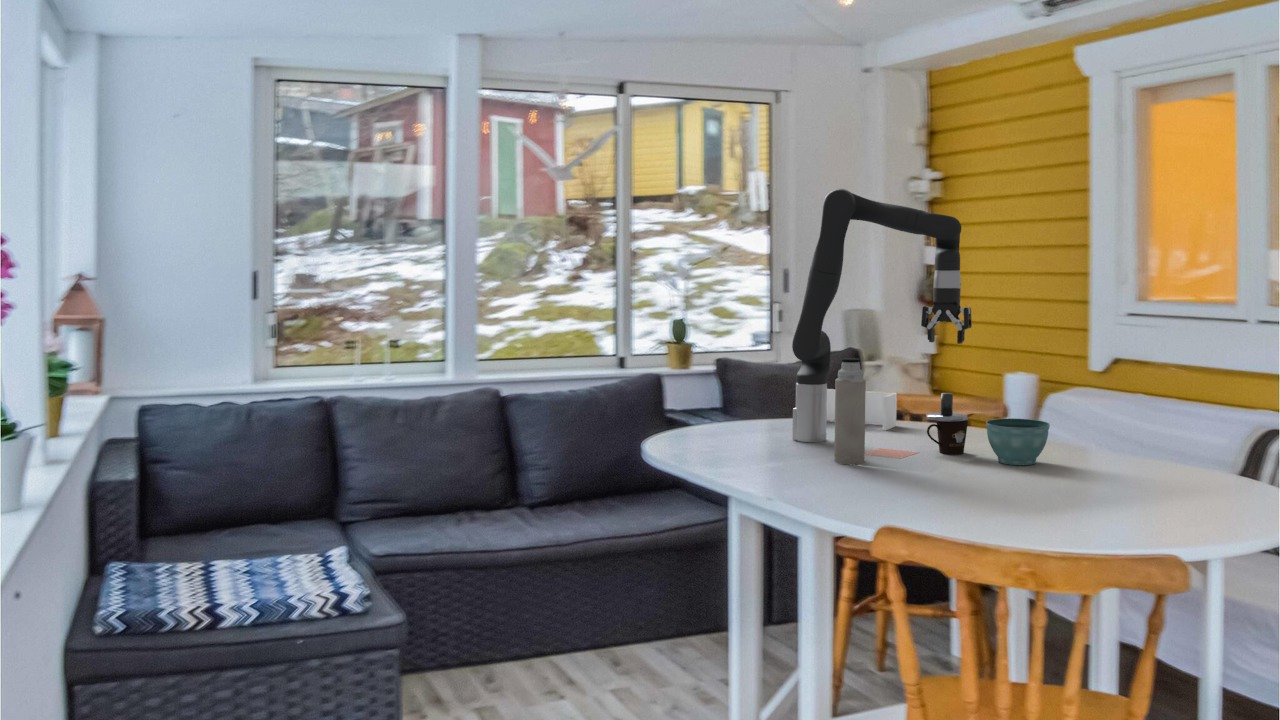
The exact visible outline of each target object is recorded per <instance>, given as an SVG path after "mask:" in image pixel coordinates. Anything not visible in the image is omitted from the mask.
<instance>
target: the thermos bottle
mask: <svg viewBox="0 0 1280 720" xmlns="http://www.w3.org/2000/svg"><path fill="white" fill-rule="evenodd" d="M860 362H861V359H860V358H858V357H857V358H855V357H845V358H841V368H840V369H839V370H837V371H838V372H837V378H836V379H835V380H834V381H835V383H834V384H835V387H834V388H835V422H834V452H833V454H834V457H833V460H834V463H836V464H839V465H848V464H852V465H853V464H861V463H864V462H865V456H866V455H865V452H866V451H865V448H866V447H865V445H866V443H865V442H866V424H865V392H866V391H867V390H866V387H867V386H866V381H867V380H866V379H865V378H864V371H863V370H862V369H861V365H860Z"/></svg>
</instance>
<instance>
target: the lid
mask: <svg viewBox="0 0 1280 720" xmlns="http://www.w3.org/2000/svg"><path fill="white" fill-rule="evenodd" d="M953 403H954V393H951V392H942V393H941V394H940V412H938V411H937V412H928V413H926V414H925V416H926V417H925V418H926V419H927V420H929V421H935V422H937V421H946V422H957V421H965V420H967V419H968V415H967V414H963V413H958V412H957V413H956V412H953V411H954V409H953V408H954V406H953V405H954V404H953Z"/></svg>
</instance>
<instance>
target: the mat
mask: <svg viewBox="0 0 1280 720" xmlns="http://www.w3.org/2000/svg"><path fill="white" fill-rule="evenodd" d="M919 453H920V452H919V451H912V450H911V451H909V450H903V449H893V448H884V447H880V448H875V449H873V450H869V451H865V456H873V457H874V456H875V457H883V458H891V459H899V460H900V459H904V458H907V457H911V456H913V455H917V454H919Z"/></svg>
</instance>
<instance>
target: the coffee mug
mask: <svg viewBox="0 0 1280 720" xmlns="http://www.w3.org/2000/svg"><path fill="white" fill-rule="evenodd" d="M968 425H969V418H967V420H965V421H957V422H946V421H936V424H935V423H933V424H932V423H931V424H930V425H929V426H928V427H927V429H926V434H927V436H928V437H929V439H931V440H932V441H933V442H934V443H936V444H937V445H938V452H939V453H940V454H941V455H947V456H961V455H964V453H965V445H966V438H967V431H968ZM932 427H936V430H937V439H938V440H936V439H935V438H933V437H932V436H931V434H930V429H931V428H932Z"/></svg>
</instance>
